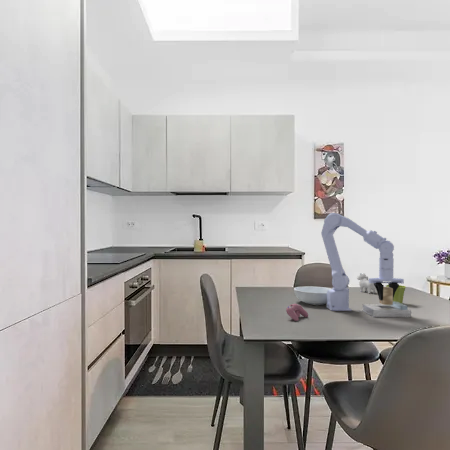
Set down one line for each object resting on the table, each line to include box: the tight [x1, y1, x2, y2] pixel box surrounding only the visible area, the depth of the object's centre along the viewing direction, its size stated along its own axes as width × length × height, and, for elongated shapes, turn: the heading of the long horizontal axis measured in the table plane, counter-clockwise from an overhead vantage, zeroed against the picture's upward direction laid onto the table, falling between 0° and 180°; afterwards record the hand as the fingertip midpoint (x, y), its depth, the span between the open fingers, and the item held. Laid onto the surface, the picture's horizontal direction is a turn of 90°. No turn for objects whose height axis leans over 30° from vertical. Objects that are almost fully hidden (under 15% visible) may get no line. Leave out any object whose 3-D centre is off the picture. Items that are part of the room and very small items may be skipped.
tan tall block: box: [379, 286, 393, 305], centre depth 168 cm, size 4×4×7 cm
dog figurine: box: [356, 273, 376, 294], centre depth 225 cm, size 5×13×11 cm, turn 23°
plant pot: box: [385, 284, 407, 304], centre depth 191 cm, size 9×9×9 cm
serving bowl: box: [293, 285, 333, 306], centre depth 191 cm, size 21×21×7 cm
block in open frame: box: [361, 301, 412, 318], centre depth 168 cm, size 16×12×4 cm
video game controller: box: [285, 303, 309, 322], centre depth 159 cm, size 10×5×7 cm, turn 141°
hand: (386, 299), depth 168 cm, fingers closed on tan tall block, 4 cm apart
